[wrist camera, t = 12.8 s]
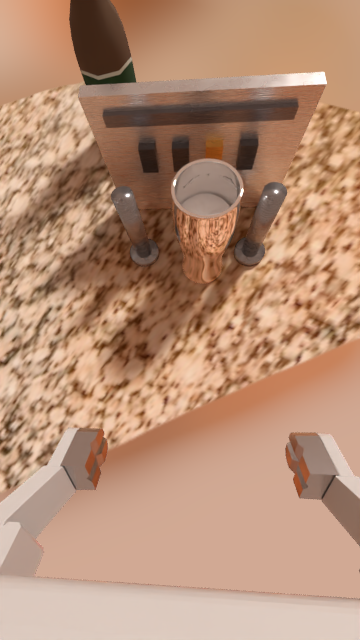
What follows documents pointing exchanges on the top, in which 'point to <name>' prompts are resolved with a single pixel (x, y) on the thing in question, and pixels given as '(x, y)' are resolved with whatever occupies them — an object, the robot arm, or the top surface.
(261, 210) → the post right
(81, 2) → the beer bottle
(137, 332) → the top surface
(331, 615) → the robot arm
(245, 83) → the panel
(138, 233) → the post left
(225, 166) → the beer glass
